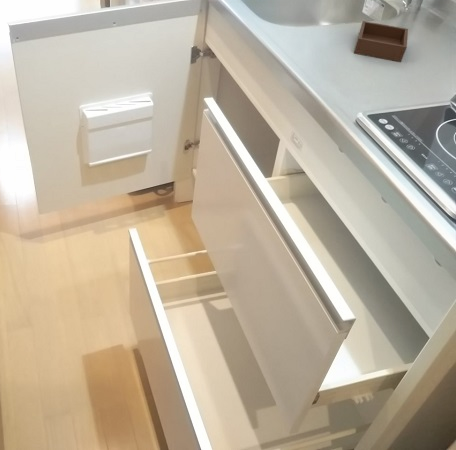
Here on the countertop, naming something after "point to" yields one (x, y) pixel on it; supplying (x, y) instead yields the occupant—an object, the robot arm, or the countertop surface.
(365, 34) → the tray
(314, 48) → the countertop surface
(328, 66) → the countertop surface
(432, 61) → the countertop surface
